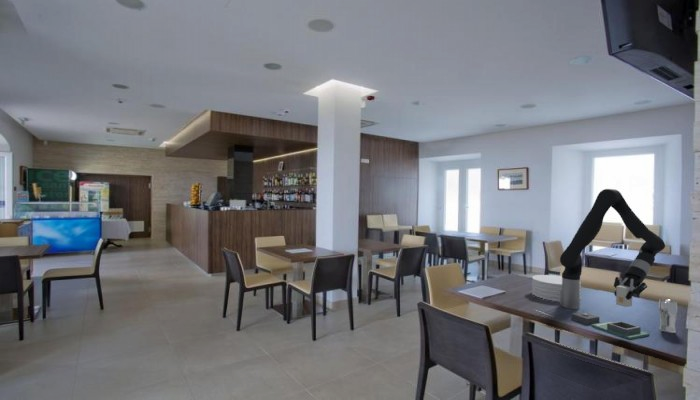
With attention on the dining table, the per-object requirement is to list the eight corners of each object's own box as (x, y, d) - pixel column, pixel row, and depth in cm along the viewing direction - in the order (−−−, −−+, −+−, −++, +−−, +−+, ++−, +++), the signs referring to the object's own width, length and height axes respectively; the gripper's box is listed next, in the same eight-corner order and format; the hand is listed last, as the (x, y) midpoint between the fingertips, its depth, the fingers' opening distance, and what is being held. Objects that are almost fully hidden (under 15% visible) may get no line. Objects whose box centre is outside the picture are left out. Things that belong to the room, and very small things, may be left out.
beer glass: (667, 328, 181) (668, 298, 181) (680, 333, 174) (681, 302, 174) (654, 328, 181) (654, 298, 181) (667, 333, 174) (667, 302, 174)
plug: (615, 304, 176) (615, 286, 176) (622, 303, 178) (622, 285, 178) (625, 307, 172) (625, 288, 172) (632, 306, 174) (632, 287, 174)
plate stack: (590, 303, 224) (590, 284, 224) (545, 302, 225) (545, 284, 225) (564, 291, 252) (564, 275, 252) (524, 290, 253) (524, 274, 253)
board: (591, 326, 183) (591, 319, 183) (610, 323, 188) (610, 316, 188) (629, 339, 166) (629, 332, 166) (649, 335, 171) (649, 328, 171)
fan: (571, 319, 194) (571, 312, 194) (582, 317, 197) (583, 310, 197) (587, 324, 186) (587, 317, 186) (599, 322, 189) (599, 315, 189)
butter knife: (537, 309, 211) (533, 309, 210) (579, 325, 185) (575, 325, 184) (537, 310, 211) (533, 310, 210) (579, 326, 185) (575, 326, 184)
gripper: (619, 263, 184) (602, 288, 180) (651, 268, 171) (634, 296, 167) (626, 272, 186) (609, 298, 182) (657, 278, 173) (641, 306, 169)
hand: (621, 297), depth 174 cm, fingers closed on plug, 4 cm apart
